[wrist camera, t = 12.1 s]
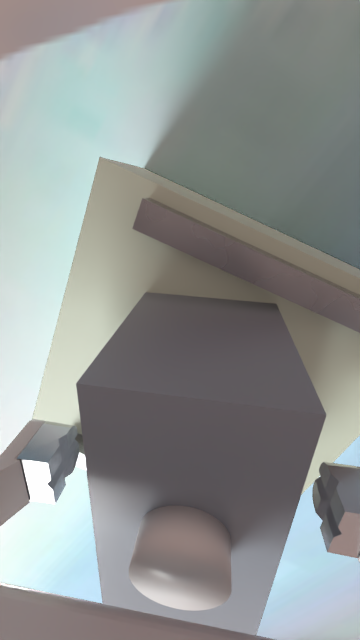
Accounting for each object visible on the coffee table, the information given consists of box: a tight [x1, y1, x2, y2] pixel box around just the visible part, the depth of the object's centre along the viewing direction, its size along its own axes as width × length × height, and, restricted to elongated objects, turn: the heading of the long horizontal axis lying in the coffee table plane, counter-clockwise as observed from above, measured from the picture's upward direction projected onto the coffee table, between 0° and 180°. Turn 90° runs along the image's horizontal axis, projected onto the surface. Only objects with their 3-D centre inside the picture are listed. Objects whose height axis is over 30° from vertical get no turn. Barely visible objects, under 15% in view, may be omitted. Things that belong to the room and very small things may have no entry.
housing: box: [76, 292, 326, 635], centre depth 10 cm, size 9×5×7 cm, turn 177°
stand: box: [32, 157, 360, 495], centre depth 15 cm, size 14×14×7 cm
